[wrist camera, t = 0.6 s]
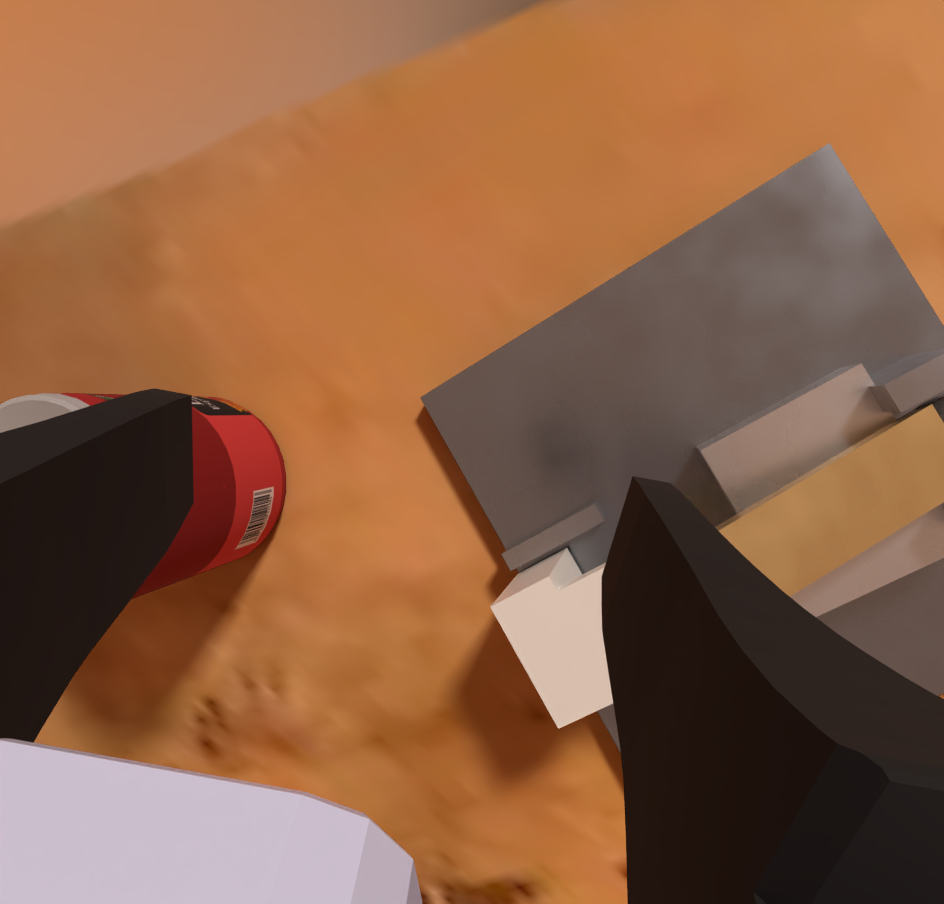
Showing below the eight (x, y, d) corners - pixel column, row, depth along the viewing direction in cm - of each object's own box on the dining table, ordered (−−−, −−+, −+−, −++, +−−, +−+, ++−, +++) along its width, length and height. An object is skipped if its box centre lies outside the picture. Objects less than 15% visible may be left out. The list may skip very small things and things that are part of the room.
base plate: (1105, 607, 28) (1225, 661, 22) (655, 799, 32) (655, 887, 26) (822, 153, 29) (864, 90, 23) (428, 397, 33) (380, 396, 28)
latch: (692, 618, 30) (700, 663, 25) (574, 675, 31) (558, 729, 26) (631, 513, 30) (626, 535, 25) (517, 573, 31) (490, 607, 26)
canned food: (260, 373, 35) (89, 360, 25) (314, 533, 35) (166, 589, 24) (131, 427, 37) (-80, 436, 27) (182, 579, 37) (-10, 649, 26)
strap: (978, 470, 24) (1001, 468, 24) (712, 633, 23) (725, 637, 22) (933, 397, 25) (954, 391, 24) (667, 554, 24) (677, 555, 23)
